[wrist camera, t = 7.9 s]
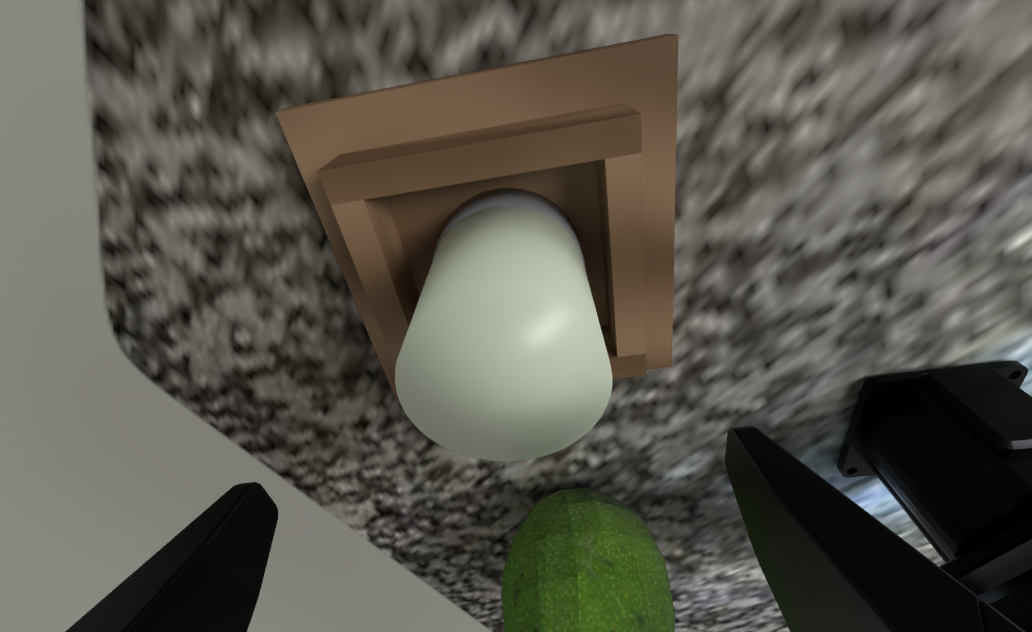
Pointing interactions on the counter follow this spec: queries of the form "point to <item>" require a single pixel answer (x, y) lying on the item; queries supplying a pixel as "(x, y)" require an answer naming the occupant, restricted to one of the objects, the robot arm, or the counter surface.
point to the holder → (506, 181)
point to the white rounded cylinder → (505, 334)
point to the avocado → (585, 569)
